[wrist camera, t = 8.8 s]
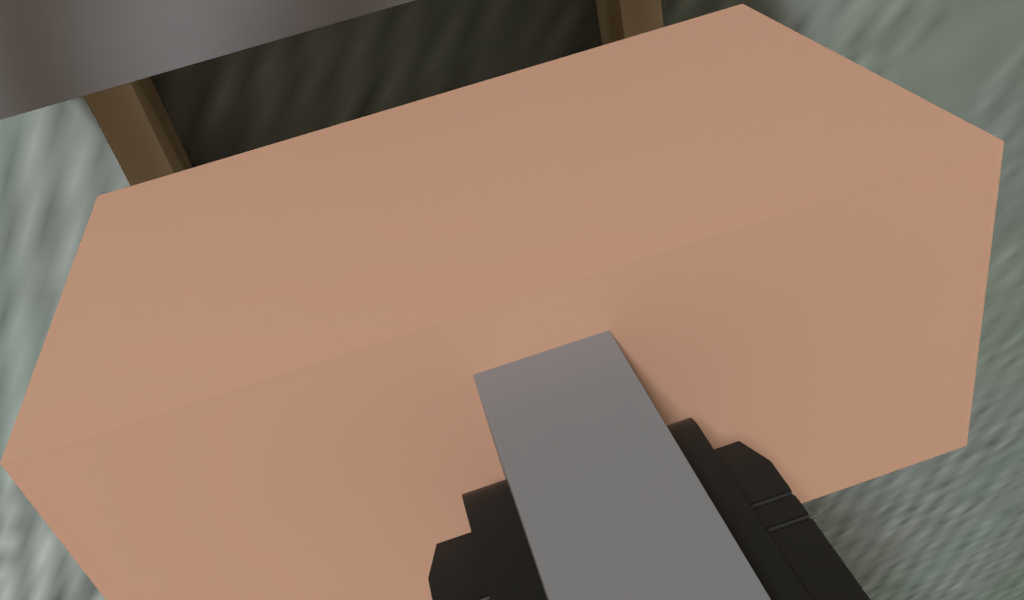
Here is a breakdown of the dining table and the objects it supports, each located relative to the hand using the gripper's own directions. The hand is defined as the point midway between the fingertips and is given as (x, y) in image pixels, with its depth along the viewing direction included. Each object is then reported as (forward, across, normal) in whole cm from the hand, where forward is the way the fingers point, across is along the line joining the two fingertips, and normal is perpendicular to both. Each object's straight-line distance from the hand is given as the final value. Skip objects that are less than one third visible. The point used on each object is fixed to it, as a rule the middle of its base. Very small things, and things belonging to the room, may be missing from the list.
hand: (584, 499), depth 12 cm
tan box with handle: (+9, 0, 0) cm, 9 cm away
